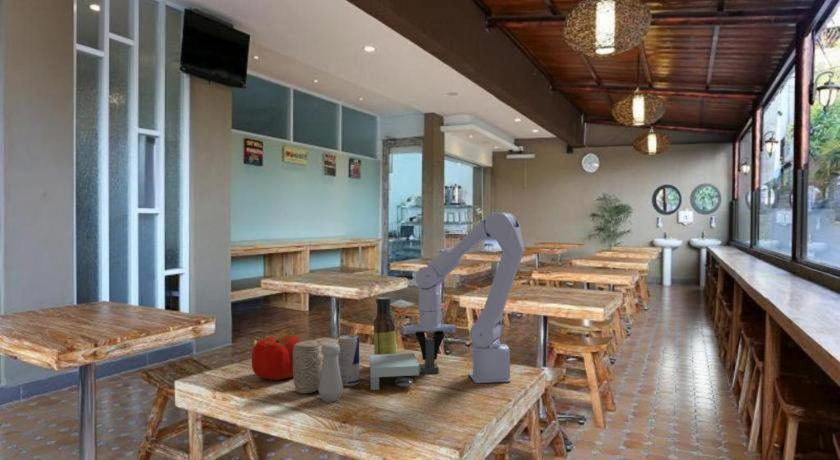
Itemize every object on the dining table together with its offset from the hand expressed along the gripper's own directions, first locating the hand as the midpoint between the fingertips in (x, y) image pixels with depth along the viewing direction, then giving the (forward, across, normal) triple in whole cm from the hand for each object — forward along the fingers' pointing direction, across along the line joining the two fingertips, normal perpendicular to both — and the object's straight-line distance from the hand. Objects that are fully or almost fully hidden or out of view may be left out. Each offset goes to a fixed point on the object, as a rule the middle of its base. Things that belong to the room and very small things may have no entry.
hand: (429, 358), depth 140 cm
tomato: (+4, +41, 0) cm, 41 cm away
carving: (+4, +32, +12) cm, 35 cm away
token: (+4, +8, +10) cm, 13 cm away
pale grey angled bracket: (+3, +10, +8) cm, 13 cm away
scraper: (+3, +4, 0) cm, 6 cm away
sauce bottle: (+4, +12, -6) cm, 14 cm away
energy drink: (+4, +22, +8) cm, 24 cm away
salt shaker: (+4, +26, +18) cm, 32 cm away
